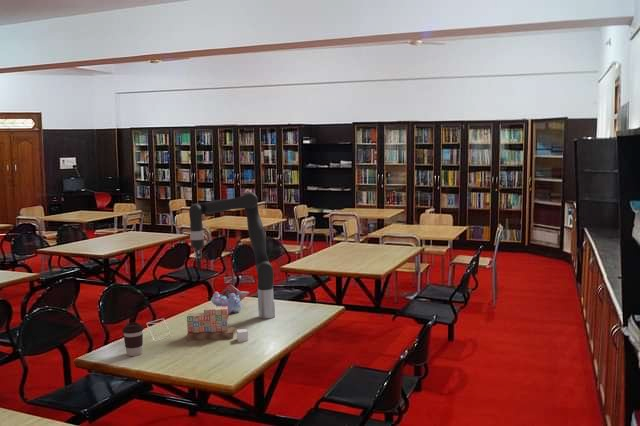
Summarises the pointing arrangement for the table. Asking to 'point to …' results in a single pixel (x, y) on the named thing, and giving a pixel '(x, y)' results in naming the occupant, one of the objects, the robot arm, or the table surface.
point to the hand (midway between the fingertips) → (198, 266)
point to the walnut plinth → (211, 335)
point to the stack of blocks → (209, 320)
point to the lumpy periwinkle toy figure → (229, 298)
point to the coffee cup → (133, 338)
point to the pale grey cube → (242, 335)
